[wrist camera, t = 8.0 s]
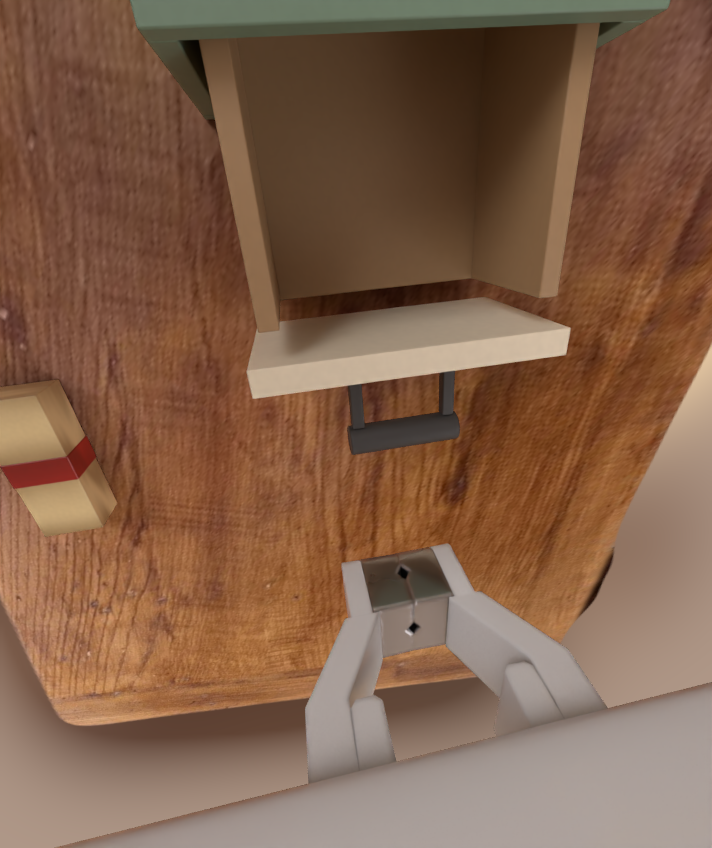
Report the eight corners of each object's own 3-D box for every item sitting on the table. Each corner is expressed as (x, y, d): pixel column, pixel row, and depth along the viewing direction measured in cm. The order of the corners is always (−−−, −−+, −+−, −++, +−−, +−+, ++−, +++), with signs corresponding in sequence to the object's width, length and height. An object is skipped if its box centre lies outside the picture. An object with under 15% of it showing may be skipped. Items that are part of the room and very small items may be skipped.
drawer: (479, 389, 26) (549, 448, 19) (276, 418, 24) (274, 494, 18) (511, -55, 16) (676, -256, 9) (182, -49, 15) (97, -280, 8)
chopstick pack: (118, 502, 26) (104, 528, 24) (64, 511, 26) (43, 538, 24) (60, 378, 22) (35, 395, 20) (-7, 387, 22) (-40, 405, 19)
